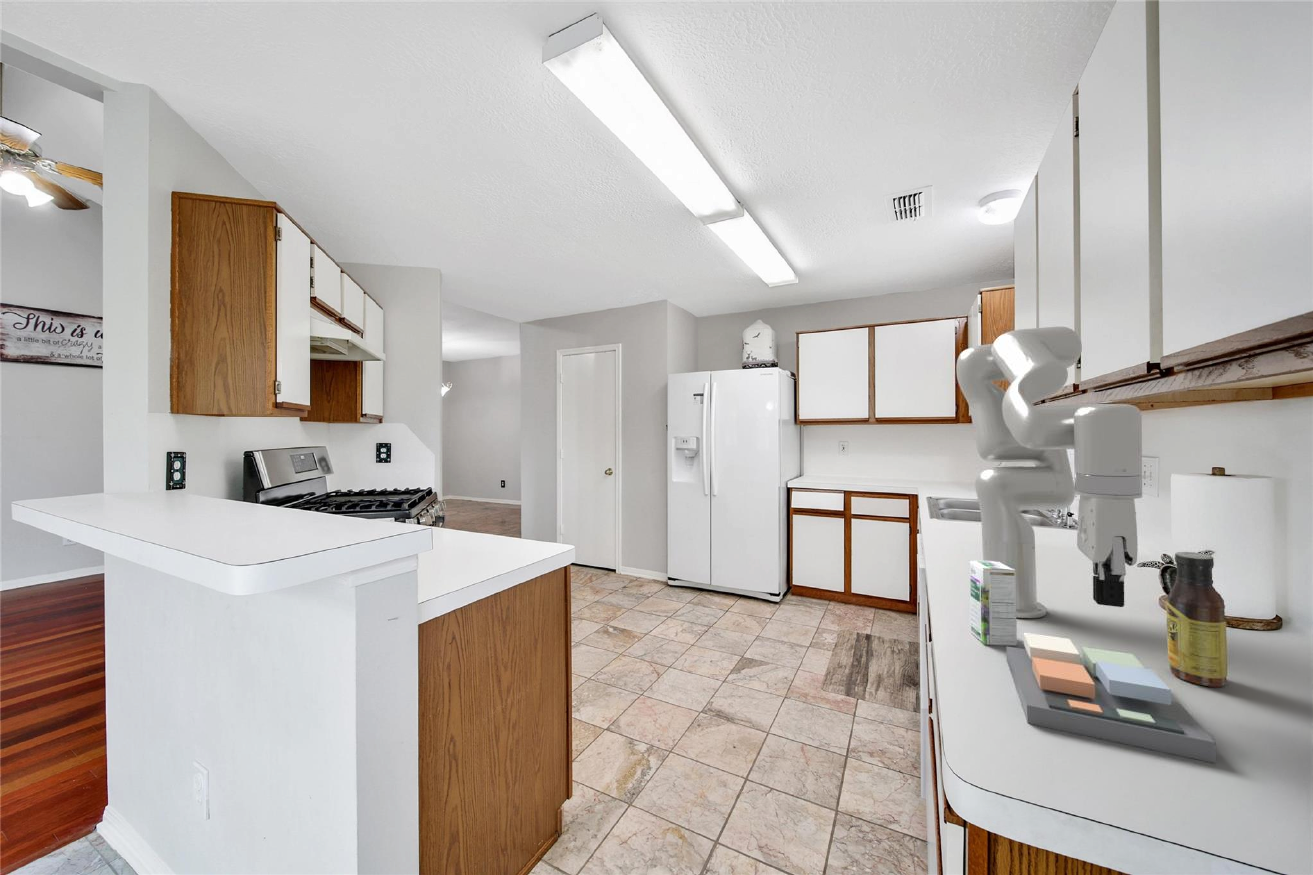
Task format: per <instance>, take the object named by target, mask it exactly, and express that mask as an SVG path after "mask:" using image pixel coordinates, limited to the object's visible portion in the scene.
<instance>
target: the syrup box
mask: <svg viewBox="0 0 1313 875" xmlns="http://www.w3.org/2000/svg"><path fill="white" fill-rule="evenodd" d="M969 579H970V581H969V584H970V585H969V588H970V589H969V591H970V592H969V595H970V596H969V598H970V599H969V601H970V602H969V603H970V608H969V609H970V633H971V635H974V637H975V638H977V639H978V640H979V641H980V642H981V643H982V644H984V646H985V645H987V646H1010V647H1013V646H1014V647H1015V646H1018V640H1017V639H1018V635H1017V634H1018V632H1017V631H1018V628H1017V626H1018V625H1017V624H1018V623H1017V622H1018V621H1017V617H1016V571H1015V569H1011V568H1009V567H1008V566H1006V565H1004V564H1002V563H1000V562H995V561H983V560H970V561H969Z"/></svg>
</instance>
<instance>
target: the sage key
mask: <svg viewBox="0 0 1313 875" xmlns="http://www.w3.org/2000/svg"><path fill="white" fill-rule="evenodd" d="M1081 658H1082V660H1083V661H1084V663H1085V664H1086V666H1087V667H1088V669H1089V670H1090V672H1091V674H1092V675H1093V676H1095V677H1098V676H1097V675H1096V661H1101V662H1108V663H1114V664H1121V665H1127V666H1134V667H1140V668H1145V667H1144V666H1143V664H1142V663H1141V662H1140V661H1139V660H1138V659H1137V657H1136V656H1135V655H1134V654H1133V653H1129V652H1128V653H1127V652H1121V651H1120V652H1119V651H1111V650H1106V649H1099V648H1098V649H1097V648H1092V647H1085V646H1081Z"/></svg>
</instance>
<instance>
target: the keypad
mask: <svg viewBox="0 0 1313 875" xmlns="http://www.w3.org/2000/svg"><path fill="white" fill-rule="evenodd" d="M1005 646H1006V648H1005V649H1006V650H1005V651H1006V652H1005V653H1006V663H1007V666H1008V669H1009V672H1010V674H1011V677H1012V680H1013V684H1014V687H1015V689H1016V693H1017V695H1018V698H1019V703H1020V704H1021V707H1022V710H1023V713H1024V714H1023V715H1024V716H1025V720H1026V722H1027V724H1031V725H1035V726H1040V727H1045V728H1048V729H1049V728H1050V729H1054V730H1058V731H1062V732H1063V731H1064V732H1067V733H1073V734H1078V735H1081V736H1087V737H1092V738H1095V739H1096V738H1097V739H1100V738H1101V740H1105V741H1110V742H1115V743H1120V744H1124V745H1129V746H1133V747H1139V748H1141V749H1142V748H1143V747H1144V748H1143V749H1148V750H1151V749H1152V750H1153V751H1156V752H1160V753H1161V752H1162V753H1167V754H1170V755H1176V756H1181V757H1185V758H1189V759H1195V760H1200V761H1204V762H1209V763H1212V764H1216V763H1217V759H1216V758H1217V752H1216V749H1217V747H1216V742H1215V740H1214V739H1213V738H1212V737H1211V736H1210V734H1208V732H1207V731H1206V730H1205V729H1204V728H1203V727H1202V726H1201V725H1200V723H1199V722H1197V720H1196V719H1195V718H1194V717H1193V716H1192V715H1191V713H1189V712H1188V710H1187V709H1186V708H1185V707H1184V706H1183V704H1182V703H1180V701H1179V700H1178V699H1177V698H1176V697H1175V696H1174V695H1173V694H1172V693H1171V705H1168V704H1162V703H1157V702H1151V701H1145V700H1140V699H1134V698H1129V697H1123V696H1117V695H1112V694H1109V692H1108V691H1107V690H1106V688H1105V687H1104V685H1103V684H1102V682H1101V681H1100V679H1099V678H1098V677H1095V676H1093V675H1092V674H1091V672H1090V670H1089V669H1088V667H1087V666H1086V664H1085V663H1084V661H1083V660H1082V657H1080V665H1083V667H1084V668H1085V670H1086V671H1087V673H1088V674H1089V676H1090V678H1091V679H1092V681H1093V682H1094V684H1095V699H1094V698H1089V697H1083V696H1078V695H1072V694H1067V693H1062V692H1056V691H1051V690H1045V689H1040V687H1039V684H1038V682H1037V679H1036V677H1035V675H1034V672H1033V670H1032V660H1030V657H1029V655H1028V653H1027V650H1026V648H1021V647H1020V648H1018V647H1013V646H1008V645H1005ZM1146 668H1147V669H1150V668H1149V667H1146Z"/></svg>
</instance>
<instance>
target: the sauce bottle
mask: <svg viewBox="0 0 1313 875" xmlns="http://www.w3.org/2000/svg"><path fill="white" fill-rule="evenodd" d="M1174 562H1175V563H1176V577H1175V581H1174V584H1173V585H1172V588H1171V590H1170V591H1169V593H1168V595H1167V597H1166V599H1165V604H1166V605H1165V608H1166V634H1167V635H1166V638H1167V640H1166V641H1167V642H1166V643H1167V662H1168V665H1169V670H1170V672H1171V673H1172V674H1173V675H1174V676H1175V677H1177V678H1178V679H1180V680H1184V681H1186V682H1189V683H1191V684H1194V685H1200V686H1206V687H1208V688H1209V687H1211V688H1219V687H1223V686H1225V685H1226V684H1227V677H1228V652H1227V651H1228V649H1227V648H1228V646H1227V640H1228V639H1227V617H1226V615H1225V614H1226V612H1225V609H1226V605H1225V600H1224V598H1223V597H1222V596H1221V594H1220V593H1219V592H1218V591H1217V590H1216V588H1215V587H1214V586H1213V585H1214V580H1213V568H1214V566H1215V565H1214V564H1215V563H1214V562H1215V561H1214V557H1213V556H1212V555H1209V554H1206V553H1200V552H1193V551H1177V552H1175V553H1174Z"/></svg>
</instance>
